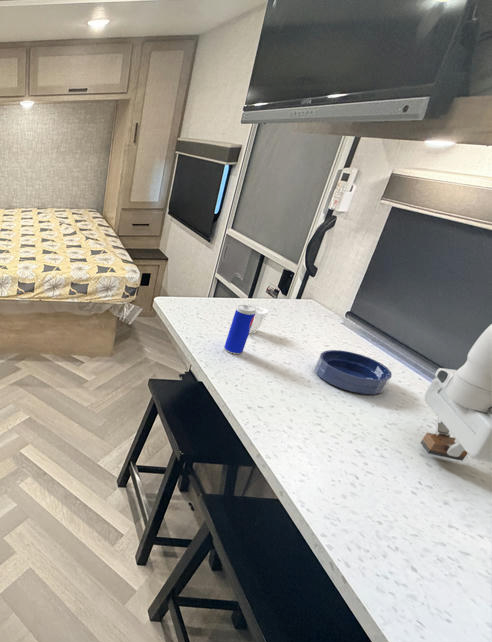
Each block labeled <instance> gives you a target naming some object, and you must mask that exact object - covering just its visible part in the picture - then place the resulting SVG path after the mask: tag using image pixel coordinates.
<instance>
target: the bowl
mask: <svg viewBox="0 0 492 642" xmlns="http://www.w3.org/2000/svg"><path fill="white" fill-rule="evenodd" d="M319 354H320V355H319V357H318V359H317V361H316V364H315V365H314V371H315V373H316V375H317V376H318V377H320V378H321V379H322V380H324V381H325V382H327V383H328V384H330V385H333V386H334V387H336V388H339V389H342V390H346V391H349V392H353V393H358V394H362V395H376V394H381V393H382V392H384V391H385V390H386V388H387V386H388V385H389V382H390V381H391V379H392V376H393V375H392V371H391V370H390V369H389V368H388V367H387V366H385V365H384V364H383V363H381V362H380V361H377V360H375V359H373V358H371V357H369V356H367V355H363V354H359V353H357V352H356V353H355V352H353V351H347V350H340V349H339V350H338V349H330V350H324V351H323V352H321V353H319Z"/></svg>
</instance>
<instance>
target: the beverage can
mask: <svg viewBox="0 0 492 642" xmlns="http://www.w3.org/2000/svg"><path fill="white" fill-rule="evenodd" d="M248 305H249V304H248ZM248 305H247V304H239V305H238V306H236V309H235V312H234V314H233V318H232V321H231V324H230V327H229V330H228V333H227V337H226V340H225V342H224V350H225V351H226V352H227V351H228V352H227V353H229V352H230V353H229V354H232V353H233V354H232V355H240V354H242V353H243V352H244V349H245V347H246V343H247V340H248V338H249V334H250V333H249V332H250V329H251V326H252V323H253V320H254V317H255V314H256V309H255V308H254V307H252V306H248Z"/></svg>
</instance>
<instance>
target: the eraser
mask: <svg viewBox="0 0 492 642" xmlns="http://www.w3.org/2000/svg"><path fill="white" fill-rule="evenodd" d="M455 439H456V438H455V437H452V436H450V437H447V436H442V435H437V434H433V433H432V432H426V433H425V434H424V436H423V437H422V439H421V440H420V444H421V446H422V447H423V449H424V450H425V451H426V453H427V454H429V455H433V456H437V457H442V458H448V459H450V460H451V459H452V460H457V461H461V462H464V459H465V458H466V457H467V456H468V455H469V454H468V453H467V452H466V451H463V452H462V453H461V455H460V456H458V457H455V456H450V455H448V454H447V452H446V451H445V448H446V446H447V444H450V445H453V444H455V442H454V441H455Z"/></svg>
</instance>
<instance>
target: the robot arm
mask: <svg viewBox="0 0 492 642" xmlns="http://www.w3.org/2000/svg"><path fill="white" fill-rule="evenodd" d="M434 375H435V377H434V378H433V380H432V381H431V382H430V384H429V386H428V388H427V390H426V392H425V394H424V402H425V403H426V404H427V406H428V407H429V408H430V409H431V410H432V412H433V413H434V414H435V415H436V416H437V417H436V422H435V430H434V431H433V433H432V434H437V435H442V436H447V437H451V435H452V436H453V438H456V439H455V441H454V442H455V444H453V445H450V444H447V446H446V448H445V451H446V452H447V454H448V455H450V456H455V457H458V456H460V455H461V453H462V452H463V451H466V452H467V453H468V454H467V455H469V457H470V458H472V459H474V460H478V461H482V462H487V463H492V323H491V324H490V325H489V326H488V327H487V328H486V329H485V330H483V332H482V333H481V334H480V335H479V337H478V338H477V339H476V341H475V342H474V343H473V345H472V346H471V348H470V349H469V351H468V353H467V356H466V361H465V363H464V364H463V365H461V367H459V368H458V369H453V368H452V369H451V368H445V367H444V368H443V367H439V368H437V370H436V372H435V374H434ZM450 433H451V434H450Z"/></svg>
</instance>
